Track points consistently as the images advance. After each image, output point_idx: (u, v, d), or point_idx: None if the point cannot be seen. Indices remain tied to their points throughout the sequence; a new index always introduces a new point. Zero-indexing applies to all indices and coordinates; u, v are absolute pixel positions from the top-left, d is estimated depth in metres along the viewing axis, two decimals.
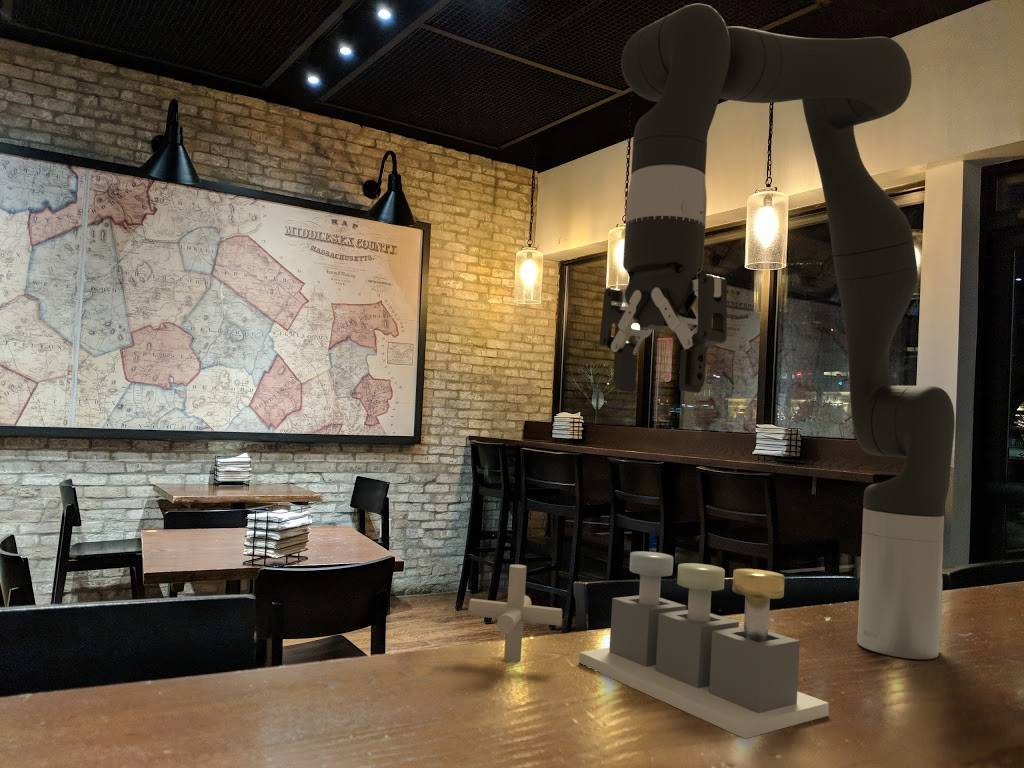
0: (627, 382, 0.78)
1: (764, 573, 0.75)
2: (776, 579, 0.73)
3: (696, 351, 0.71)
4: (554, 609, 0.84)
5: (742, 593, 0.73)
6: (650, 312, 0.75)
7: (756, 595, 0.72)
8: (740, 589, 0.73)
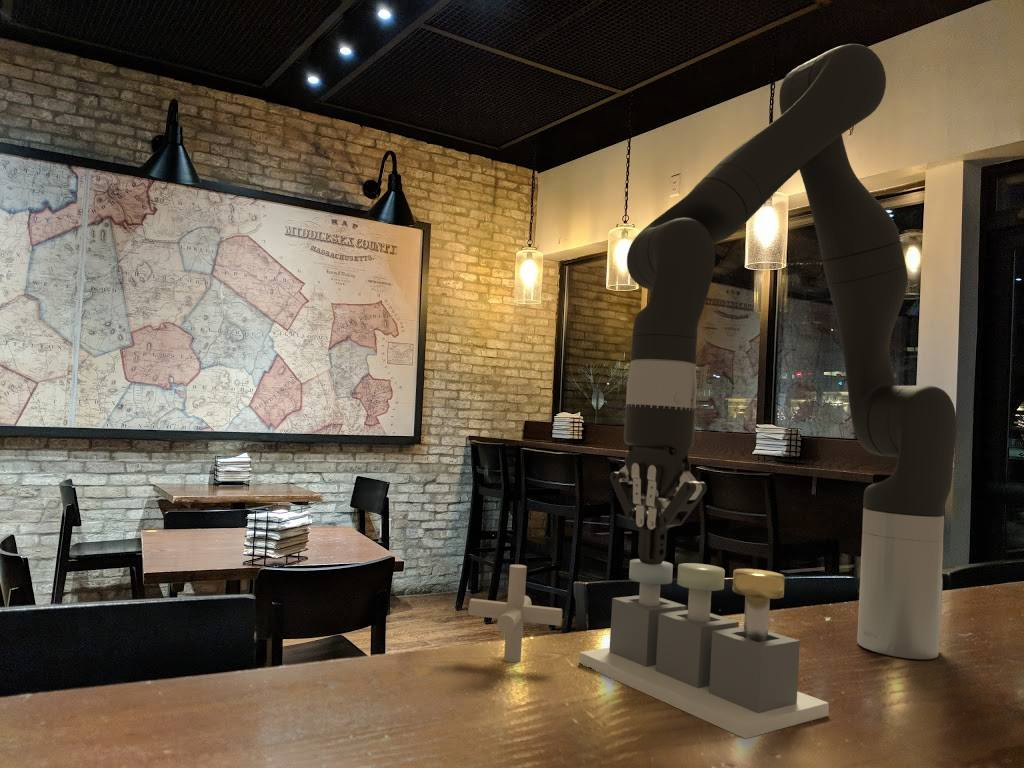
0: None
1: (764, 573, 0.75)
2: (776, 579, 0.73)
3: (658, 531, 0.85)
4: (554, 609, 0.84)
5: (742, 593, 0.73)
6: (647, 483, 0.86)
7: (756, 595, 0.72)
8: (740, 589, 0.73)
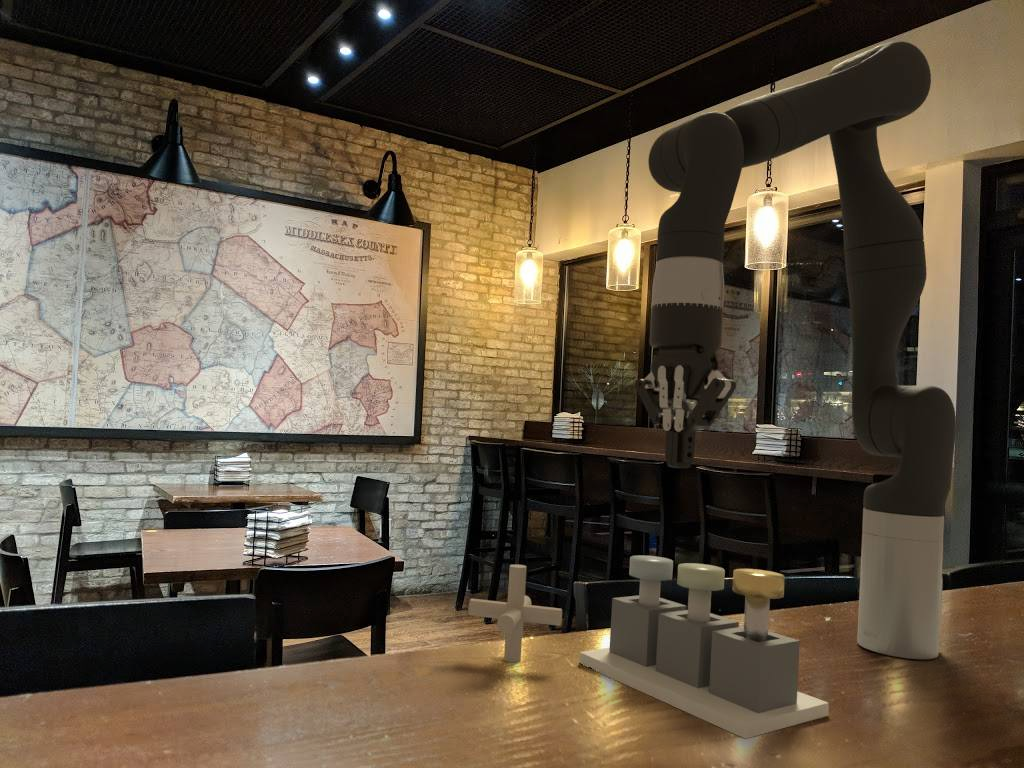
0: None
1: (764, 573, 0.75)
2: (776, 579, 0.73)
3: (686, 434, 0.83)
4: (554, 609, 0.84)
5: (742, 593, 0.73)
6: (674, 386, 0.84)
7: (756, 595, 0.72)
8: (740, 589, 0.73)
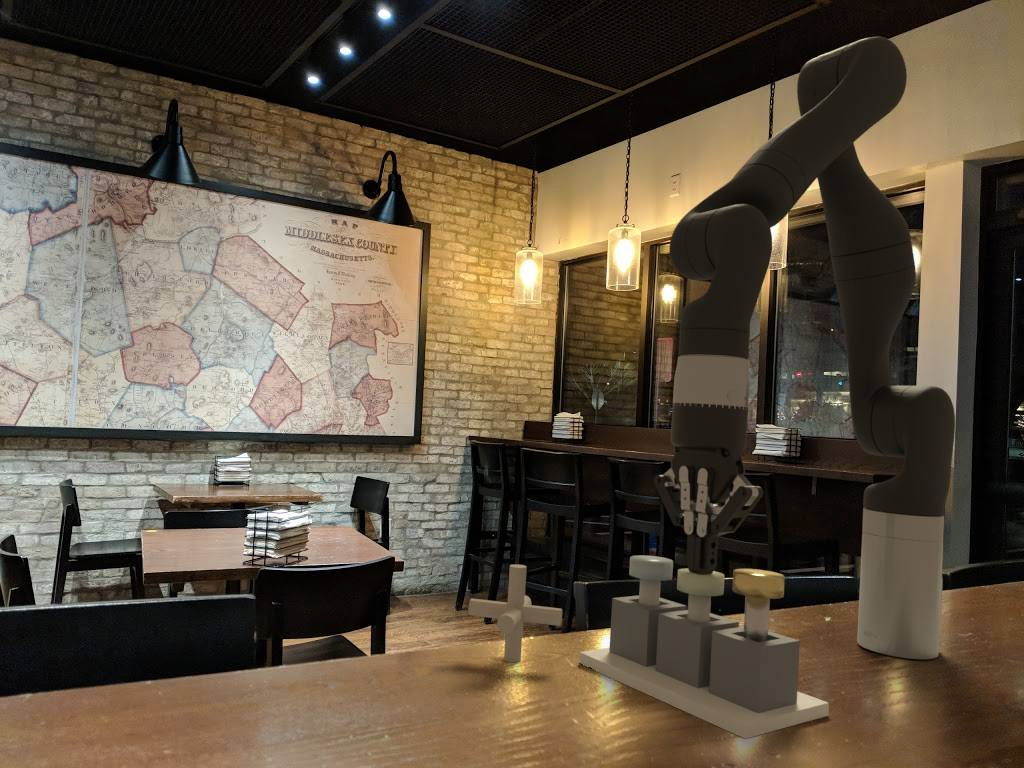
0: None
1: (764, 573, 0.75)
2: (776, 579, 0.73)
3: (709, 539, 0.79)
4: (554, 609, 0.84)
5: (742, 593, 0.73)
6: (696, 487, 0.80)
7: (756, 595, 0.72)
8: (740, 589, 0.73)
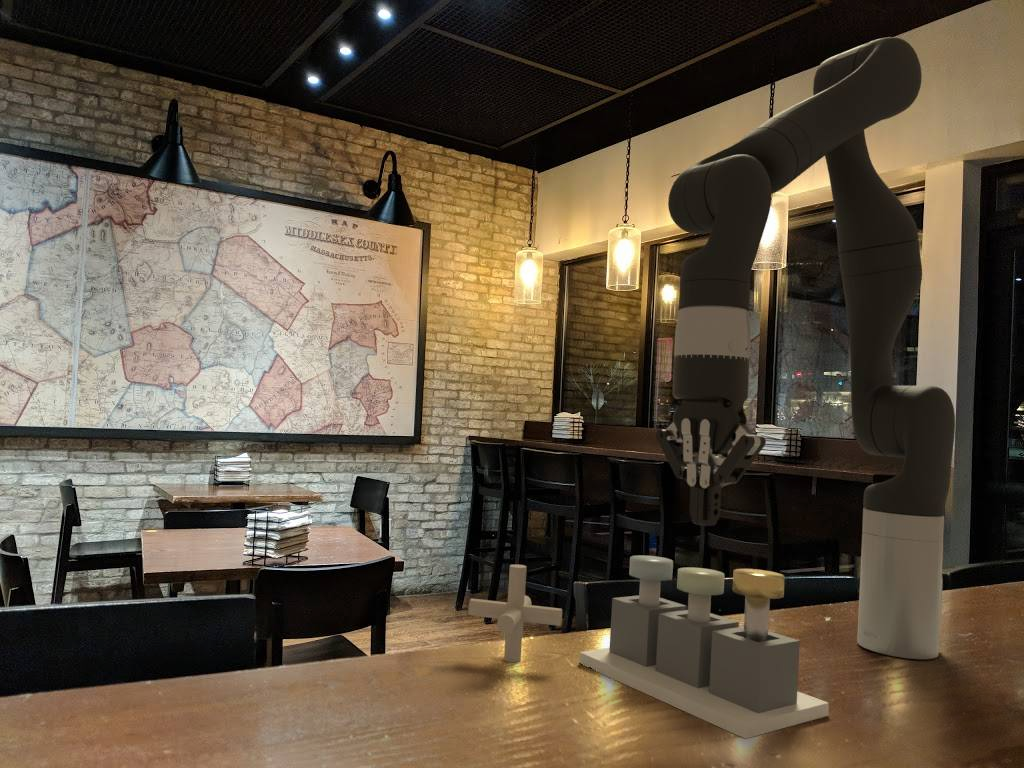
0: None
1: (764, 573, 0.75)
2: (776, 579, 0.73)
3: (712, 490, 0.79)
4: (554, 609, 0.84)
5: (742, 593, 0.73)
6: (699, 439, 0.80)
7: (756, 595, 0.72)
8: (740, 589, 0.73)
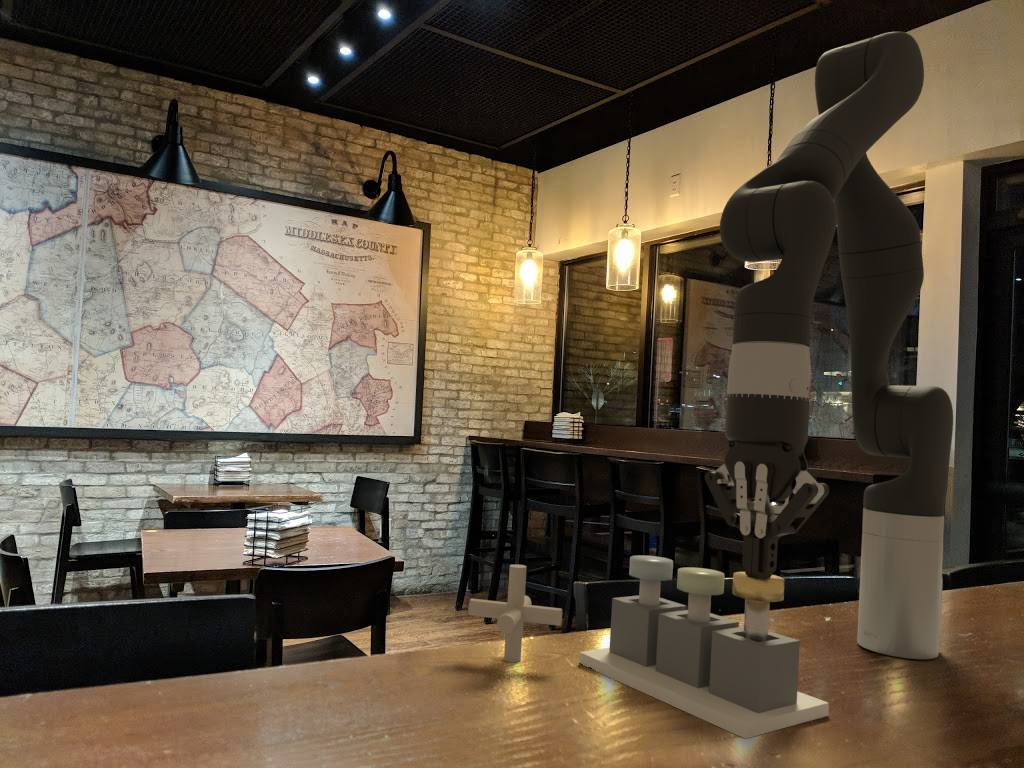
0: None
1: None
2: (776, 582, 0.73)
3: (769, 541, 0.73)
4: (554, 609, 0.84)
5: (742, 596, 0.73)
6: (754, 485, 0.75)
7: (756, 598, 0.72)
8: (740, 592, 0.73)
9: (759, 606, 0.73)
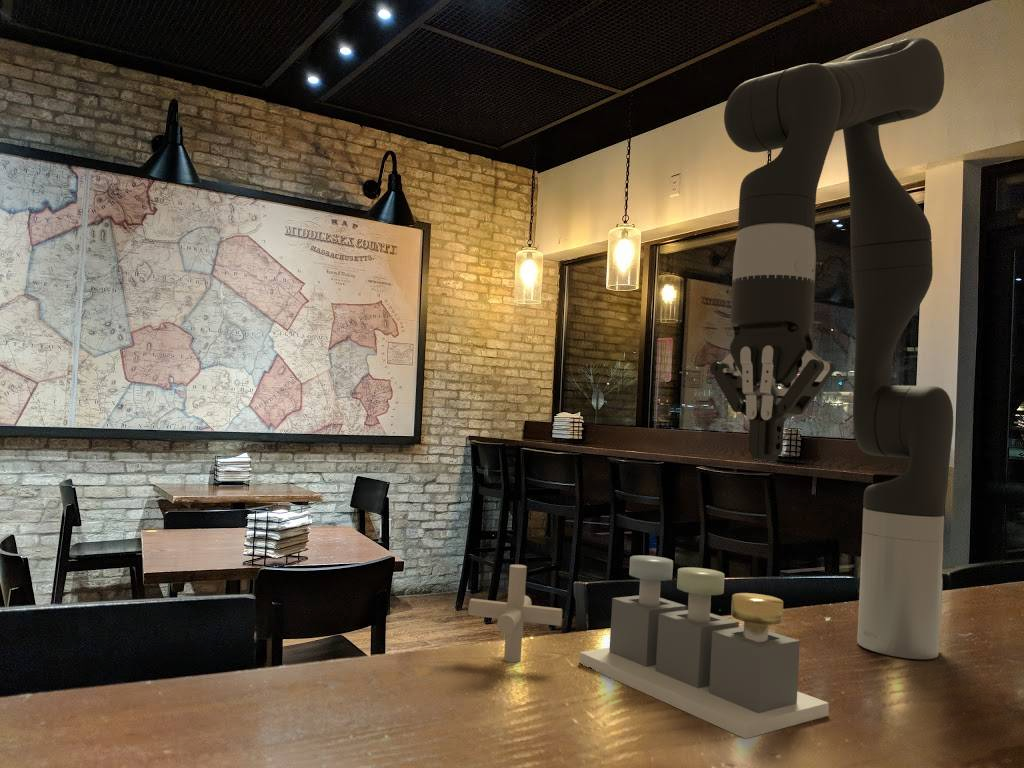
0: None
1: (763, 598, 0.75)
2: (775, 605, 0.73)
3: (775, 422, 0.74)
4: (554, 609, 0.84)
5: (741, 618, 0.73)
6: (759, 369, 0.75)
7: (755, 621, 0.72)
8: (739, 614, 0.73)
9: (758, 628, 0.73)
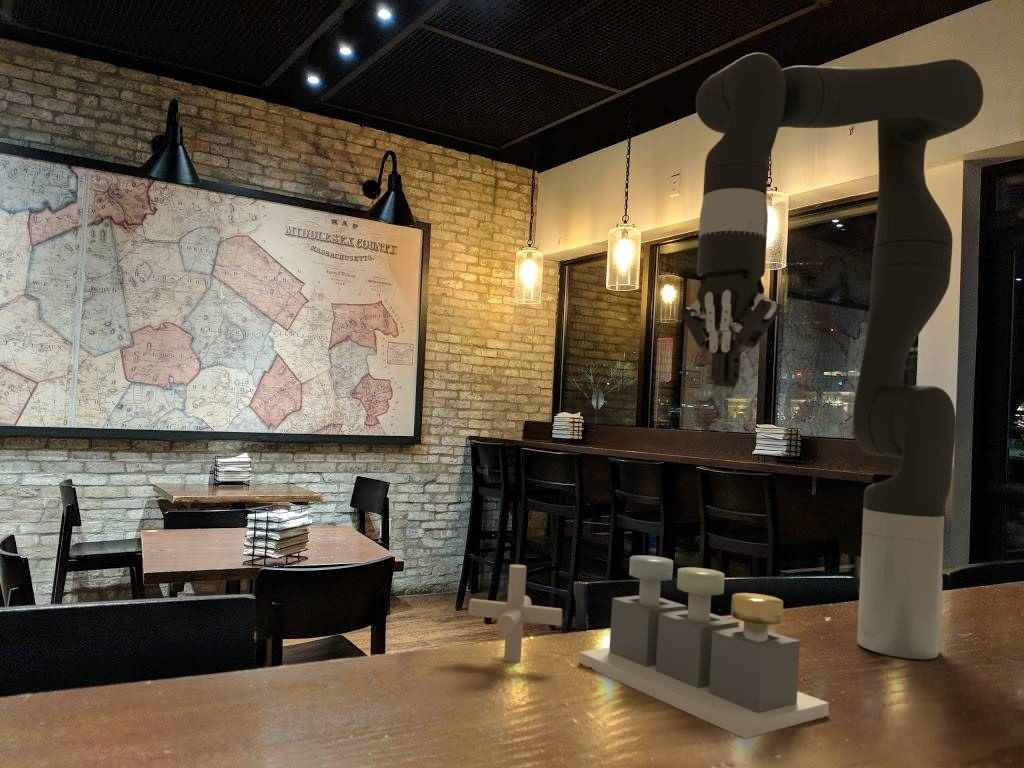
0: None
1: (763, 598, 0.75)
2: (775, 605, 0.73)
3: (732, 354, 0.89)
4: (554, 609, 0.84)
5: (741, 618, 0.73)
6: (720, 310, 0.90)
7: (755, 621, 0.72)
8: (739, 614, 0.73)
9: (758, 628, 0.73)
